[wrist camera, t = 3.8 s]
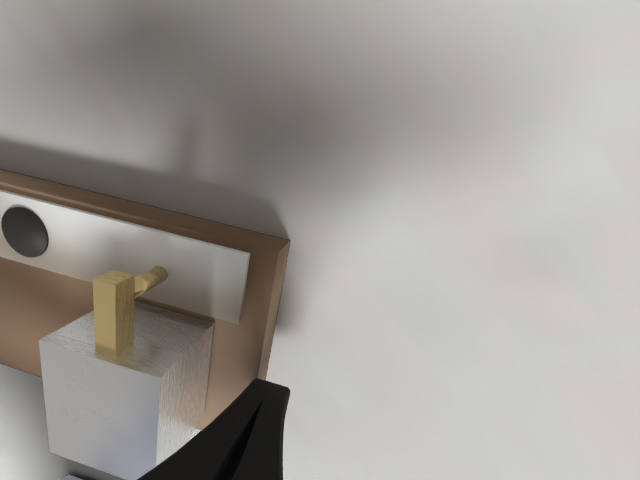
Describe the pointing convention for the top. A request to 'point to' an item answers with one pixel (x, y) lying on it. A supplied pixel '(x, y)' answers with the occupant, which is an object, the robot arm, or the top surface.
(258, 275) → the gauge board
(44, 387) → the block
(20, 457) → the top surface
